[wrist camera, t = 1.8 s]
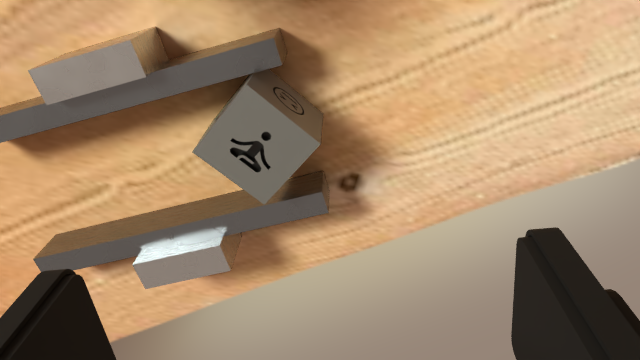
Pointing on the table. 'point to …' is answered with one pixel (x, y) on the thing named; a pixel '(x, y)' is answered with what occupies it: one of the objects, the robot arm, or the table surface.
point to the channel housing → (175, 222)
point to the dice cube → (262, 135)
